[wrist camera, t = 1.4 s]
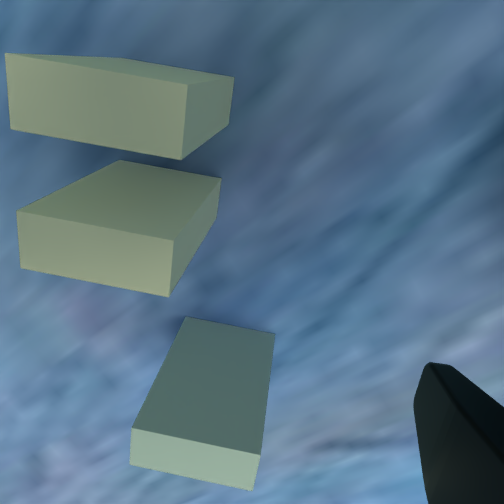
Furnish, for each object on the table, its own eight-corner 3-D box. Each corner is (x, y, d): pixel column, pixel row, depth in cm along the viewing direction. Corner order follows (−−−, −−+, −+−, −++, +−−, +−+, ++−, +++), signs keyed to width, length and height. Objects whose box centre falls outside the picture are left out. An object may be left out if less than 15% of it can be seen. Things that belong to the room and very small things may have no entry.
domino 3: (185, 316, 24) (131, 427, 16) (275, 334, 23) (260, 455, 16) (182, 345, 25) (129, 464, 17) (269, 363, 24) (252, 491, 17)
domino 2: (119, 159, 21) (16, 210, 13) (221, 178, 20) (173, 240, 13) (118, 199, 21) (20, 268, 14) (216, 217, 21) (168, 297, 14)
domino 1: (122, 57, 19) (4, 53, 12) (234, 77, 19) (187, 84, 11) (120, 105, 20) (10, 129, 12) (228, 124, 19) (180, 160, 12)
